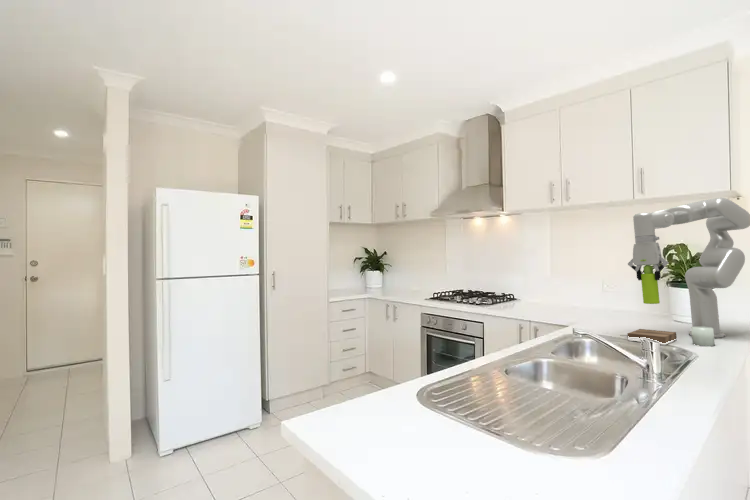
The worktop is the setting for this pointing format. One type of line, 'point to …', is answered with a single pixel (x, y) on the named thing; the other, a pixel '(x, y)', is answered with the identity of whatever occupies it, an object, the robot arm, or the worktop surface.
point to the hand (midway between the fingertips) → (648, 279)
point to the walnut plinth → (654, 335)
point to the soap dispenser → (649, 286)
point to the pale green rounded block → (703, 336)
